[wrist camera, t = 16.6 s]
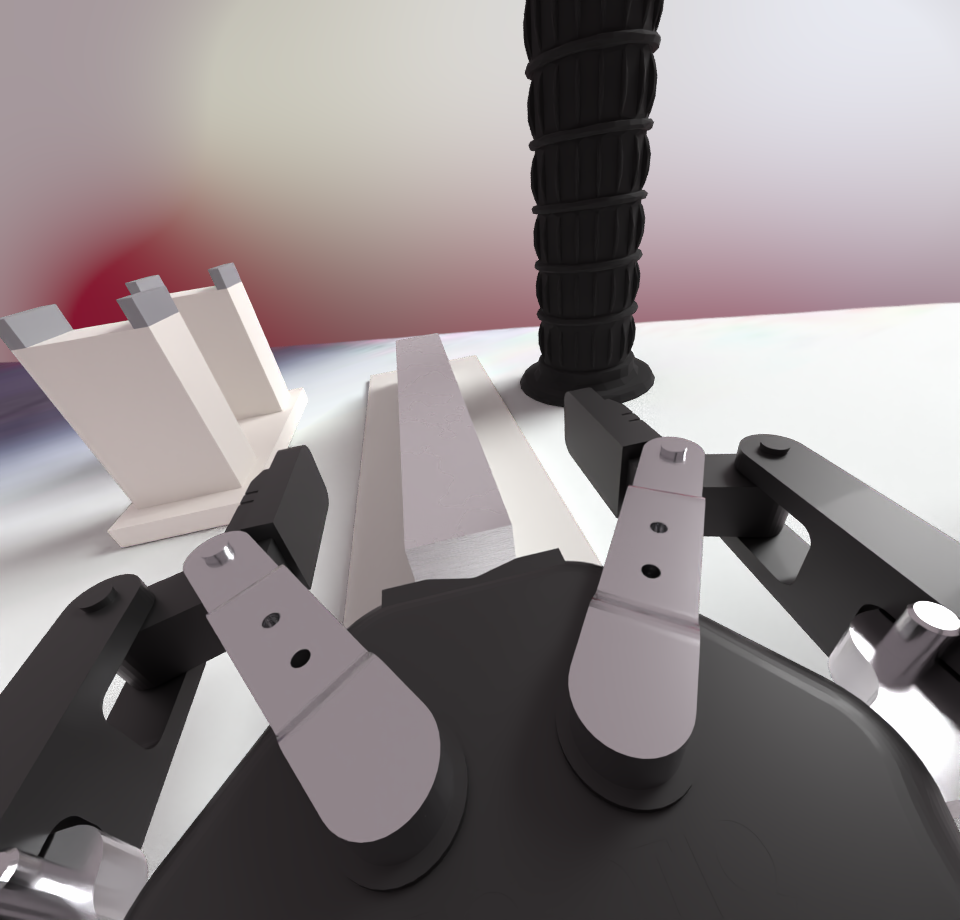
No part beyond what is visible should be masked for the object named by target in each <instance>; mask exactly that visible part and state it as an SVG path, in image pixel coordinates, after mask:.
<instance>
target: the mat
mask: <svg viewBox="0 0 960 920" xmlns="http://www.w3.org/2000/svg"><path fill="white" fill-rule="evenodd" d="M449 363H450V365H451V368H452V371H453V373H454V376H455V378H456V381H457V384H458V386H459V389H460V391H461V394H462V397H463V399H464V402H465V404H466V407H467V409H468V412H469V415H470V417H471V420H472V422H473V425H474V428H475V430H476V433H477V435H478V438H479V441H480V443H481V446H482V448H483V451H484V453H485V456H486V459H487V461H488V464H489V466H490V469H491V472H492V474H493V477H494V479H495V482H496V485H497V487H498V490H499V492H500V495H501V497H502V500H503V503H504V505H505V508H506V510H507V513H508V516H509V518H510V521H511V523H512V529H513V538H514V546H515V555H516V558H518V557H522V556H527V555H531V554H535V553H539V552H543V551H548V550H552V549H556V548H559V549H560V551H561V554H562V556H563V558H564V560H565V561H582V562H588V563H593V564H597V565H600V566H602V564H601V562H600V561H599V559H598V557H597V556H596V554H595V552H594V551H593V549H592V547H591V546H590V544H589V542H588V541H587V539H586V538H585V536H584V534H583V533H582V531H581V529H580V528H579V526H578V524H577V523H576V521H575V519H574V518H573V516H572V514H571V513H570V511H569V509H568V508H567V506H566V504H565V503H564V501H563V499H562V498H561V496H560V494H559V493H558V491H557V489H556V488H555V486H554V484H553V483H552V481H551V479H550V478H549V476H548V474H547V473H546V471H545V469H544V468H543V466H542V464H541V463H540V461H539V459H538V458H537V456H536V454H535V453H534V451H533V449H532V448H531V446H530V444H529V443H528V441H527V439H526V438H525V436H524V434H523V433H522V431H521V429H520V428H519V426H518V424H517V423H516V421H515V419H514V418H513V416H512V414H511V413H510V411H509V409H508V408H507V406H506V405H505V403H504V401H503V400H502V398H501V396H500V395H499V393H498V391H497V390H496V388H495V386H494V385H493V383H492V381H491V380H490V378H489V376H488V375H487V373H486V371H485V370H484V368H483V366H482V365H481V363H480V361H479V360H478V358H477V356H476V355H474V356H469V357H464V358H458V359H453V360H449ZM413 582H415V579H414V576H413V573H412V570H411V567H410V564H409V561H408V558H407V555H406V552H405V544H404V521H403V497H402V473H401V450H400V426H399V402H398V379H397V371H392V372H386V373H381V374H376V375H371V376H370V384H369V393H368V402H367V411H366V420H365V429H364V439H363V448H362V457H361V466H360V475H359V484H358V493H357V502H356V512H355V521H354V530H353V539H352V548H351V557H350V566H349V575H348V584H347V594H346V603H345V612H344V621H343V626H344V627H345V629H347V628H348V627H349V626H351V625H352V624H353V623H354V622H355V621H356V620H358V619H359V618H360V617H362V616H363V615H365V614H366V613H368V612H369V611H371V610H373V609H375V608H376V607H378V606H380V605H381V604H382V590H384V589H388V588H392V587H397V586H401V585H405V584H409V583H413Z"/></svg>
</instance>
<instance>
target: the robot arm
mask: <svg viewBox="0 0 960 920" xmlns="http://www.w3.org/2000/svg"><path fill="white" fill-rule="evenodd" d="M564 418H565V442H566V446H567V449H568V451H569V453H570V455H571V456H572V458H573V459H574V460H575V462H576V463H577V465H578V466H579V467H580V469H581V470H582V471H583V473H584V474H585V476H586V477H587V478H588V480H589V481H590V482H591V484H592V485H593V486H594V488H595V489H596V491H597V492H598V493H599V495H600V496H601V497H602V499H603V500H604V502H605V503H606V504H607V506H608V507H609V508H610V510H611V511H612V512H613V514H614V515H615V517H616V518H618V521H617V525H616V528H615V531H614V535H613V538H612V541H611V545H610V548H609V551H608V555H607V558H606V562H605V565H604V567H603V566H600V565H597V564H593V563H588V562H582V561H565V560H564V558H563V556H562V554H561V551H560V549H559V548H556V549H552V550H548V551H543V552H539V553H535V554H531V555H527V556H522V557H518V558H515V559H513V560H511V561H509V562H507V563H505V564H503V565H501V566H498V567H496V568H494V569H492V570H490V571H488V572H486V573H484V574H482V575H479V576H477V577H474V578H458V579H426V580H422V581H418V582H413V583H409V584H405V585H401V586H397V587H392V588H388V589H384V590H382V604H381V605H380V606H378V607H376V608H375V609H373V610H371V611H369V612H368V613H366V614H365V615H363V616H362V617H360V618H359V619H358V620H356V621H355V622H354V623H353V624H352V625H351V626H349V627H348V628H347V629H345V627H344V626H343V625H342V624H341V623H340V622H339V621H338V620H337V619H336V618H335V617H334V616H333V615H332V614H331V613H330V612H329V611H328V610H327V609H326V608H325V607H324V606H323V605H322V604H321V603H320V602H319V600H318V599H317V598H316V597H315V596H314V595H313V594H312V593H311V592H310V591H309V590H310V589H311V585H312V581H313V576H314V571H315V567H316V562H317V557H318V553H319V548H320V543H321V539H322V534H323V529H324V525H325V520H326V515H327V511H328V506H329V500H328V493H327V489H326V487H325V484H324V482H323V480H322V477H321V475H320V473H319V470H318V468H317V466H316V463H315V461H314V459H313V457H312V454H311V452H310V450H309V449H308V447H307V446H306V445H302V446H297V447H292V448H287V449H282V450H278V451H277V453H276V455H275V457H274V459H273V461H272V463H271V466H270V468H269V469H265V470H263V471H262V472H261V473H260V474H259V475H258V476H256V477H255V478H254V479H253V480H252V481H251V483H250V484H249V486H248V488H247V490H246V492H245V495H244V496H243V498H242V500H241V502H240V505H239V506H238V508H237V510H236V511H235V513H234V515H233V517H232V519H231V521H230V523H229V525H228V527H227V529H226V531H225V533H223V534H220V535H217V536H215V537H213V538H211V539H209V540H207V541H206V542H204V543H202V544H201V545H200V546H198V547H197V548H196V549H195V550H194V551H193V552H192V553H191V554H190V555H189V556H188V557H187V559H186V560H185V562H184V565H183V572H181V573H178V574H176V575H174V576H171V577H169V578H166V579H164V580H162V581H159V582H157V583H155V584H152V585H150V586H148V587H147V586H146V585H145V584H144V582H143V581H142V580H141V579H140V578H139V577H138V576H136V575H133V574H124V575H119V576H115V577H112V578H109V579H107V580H104V581H102V582H100V583H98V584H96V585H95V586H93V587H91V588H90V589H88V590H86V591H85V592H83V593H82V594H81V595H79V596H78V597H77V598H76V599H74V600H73V601H72V602H71V603H70V604H69V605H68V606H67V607H66V608H65V610H64V611H63V612H62V613H61V615H60V616H59V617H58V619H57V620H56V621H55V623H54V624H53V625H52V627H51V628H50V629H49V631H48V632H47V633H46V635H45V636H44V637H43V639H42V640H41V641H40V643H39V644H38V645H37V647H36V648H35V649H34V650H33V652H32V653H31V654H30V656H29V657H28V658H27V660H26V661H25V662H24V664H23V665H22V666H21V668H20V669H19V670H18V672H17V673H16V674H15V676H14V677H13V678H12V680H11V681H10V682H9V684H8V685H7V686H6V688H5V689H4V690H3V691H2V693H1V694H0V920H960V832H959V830H958V828H957V826H956V824H955V821H954V819H957V818H960V543H959V542H958V541H956V540H955V539H953V538H951V537H950V536H948V535H947V534H945V533H943V532H942V531H940V530H939V529H937V528H935V527H934V526H932V525H931V524H929V523H927V522H926V521H924V520H923V519H921V518H919V517H918V516H916V515H915V514H913V513H911V512H910V511H908V510H907V509H905V508H903V507H902V506H900V505H899V504H897V503H895V502H894V501H892V500H891V499H889V498H887V497H886V496H884V495H883V494H881V493H879V492H878V491H876V490H875V489H873V488H871V487H870V486H868V485H867V484H865V483H863V482H862V481H860V480H859V479H857V478H855V477H854V476H852V475H851V474H849V473H847V472H846V471H844V470H843V469H841V468H839V467H838V466H836V465H835V464H833V463H831V462H830V461H828V460H827V459H825V458H823V457H822V456H820V455H819V454H817V453H815V452H814V451H812V450H811V449H809V448H807V447H806V446H804V445H803V444H801V443H799V442H797V441H795V440H792V439H789V438H786V437H782V436H777V435H770V434H758V435H751V436H748V437H745V438H744V439H742V440H741V441H740V444H739V447H738V451H737V454H705V452H704V450H703V449H702V448H701V447H700V446H699V445H698V444H696V443H694V442H692V441H689V440H686V439H683V438H677V437H662V436H660V435H659V434H658V433H657V432H656V431H655V430H653V429H652V428H651V427H650V426H649V425H647V424H646V423H645V422H644V421H643V420H640V418H639V417H638V416H637V415H635V414H633V413H632V411H631V410H629V409H628V408H627V407H626V406H625V405H623V404H621V403H619V402H616V401H613V400H611V399H605V400H604V399H603V398H602V397H601V396H600V395H599V394H598V393H597V392H595V391H594V390H593V389H592V388H590V387H588V388H583V389H579V390H574V391H569V392H566V394H565V397H564ZM788 513H790V514H791V515H792V516H793V517H795V518H796V519H797V520H798V521H799V522H801V523H802V524H803V525H804V526H805V528H806V529H807V531H808V533H809V535H810V539H811V546H810V545H809V544H807V543H806V542H805V541H804V540H803V539H802V538H801V537H799V536H798V535H797V534H796V533H795V532H794V531H793V530H791V529H790V528H789V527H788V526H787V525H786V524H785V521H786V518H787V516H788ZM703 536H716V537H720V538H721V539H722V540H723V541H724V542H725V543H726V545H727V546H728V547H729V548H730V549H731V550H732V551H733V552H734V553H735V554H736V556H737V557H738V558H739V559H740V560H741V561H742V562H743V563H744V564H745V566H746V567H747V568H748V569H749V570H750V571H751V572H752V573H753V574H754V576H755V577H756V578H757V579H758V580H759V581H760V582H761V583H762V584H763V585H764V587H765V588H766V589H767V590H768V591H769V592H770V593H771V594H772V595H773V597H774V598H775V599H776V600H777V601H778V602H779V603H780V604H781V605H782V607H783V608H784V609H785V610H786V611H787V612H788V613H789V614H790V615H791V616H792V618H793V619H794V620H795V621H796V622H797V623H798V624H799V625H800V626H801V628H802V629H803V630H804V631H805V632H806V633H807V634H808V635H809V636H810V638H811V639H812V640H813V641H814V642H815V643H816V644H817V645H818V646H819V647H820V649H821V650H822V651H823V652H824V653H825V654H826V655H827V656H828V657H829V660H828V668H829V672H830V675H831V677H832V679H833V681H834V682H835V683H834V682H832V681H830V680H829V679H827V678H825V677H823V676H821V675H819V674H817V673H815V672H813V671H811V670H809V669H807V668H805V667H803V666H801V665H799V664H797V663H795V662H793V661H791V660H789V659H787V658H785V657H784V656H782V655H780V654H778V653H776V652H774V651H772V650H770V649H768V648H766V647H764V646H762V645H760V644H758V643H756V642H754V641H752V640H750V639H748V638H746V637H744V636H742V635H740V634H738V633H736V632H734V631H732V630H730V629H728V628H726V627H725V626H723V625H721V624H719V623H717V622H715V621H713V620H711V619H709V618H707V617H705V616H703V615H701V614H699V600H700V584H701V567H702V550H703ZM226 651H227V653H228V655H229V656H230V658H231V660H232V661H233V663H234V665H235V667H236V668H237V670H238V672H239V673H240V675H241V677H242V678H243V680H244V682H245V683H246V685H247V687H248V688H249V690H250V692H251V694H252V695H253V697H254V699H255V700H256V702H257V704H258V705H259V707H260V709H261V710H262V712H263V714H264V716H265V717H266V719H267V721H268V722H269V724H270V725H269V726H268V727H267V729H266V730H265V731H264V733H263V734H262V735H261V736H260V738H259V739H258V740H257V741H256V743H255V744H254V745H253V747H252V748H251V749H250V750H249V752H248V753H247V754H246V756H245V757H244V758H243V759H242V761H241V762H240V763H239V764H238V766H237V767H236V768H235V770H234V771H233V772H232V773H231V775H230V776H229V777H228V779H227V780H226V781H225V782H224V784H223V785H222V786H221V787H220V789H219V790H218V791H217V793H216V794H215V795H214V796H213V798H212V799H211V800H210V802H209V803H208V804H207V805H206V807H205V808H204V809H203V810H202V812H201V813H200V814H199V816H198V817H197V818H196V819H195V821H194V822H193V823H192V824H191V826H190V827H189V828H188V830H187V831H186V832H185V833H184V835H183V836H182V837H181V839H180V840H179V841H178V842H177V844H176V845H175V846H174V847H173V849H172V850H171V851H170V853H169V854H168V855H167V856H166V858H165V859H164V860H163V862H162V863H161V864H160V865H159V867H158V868H157V869H156V871H155V872H154V873H153V875H152V876H151V877H150V879H149V880H148V882H147V877H148V863H147V859H146V856H145V854H144V853H143V852H142V850H141V847H142V845H143V842H144V839H145V836H146V833H147V830H148V827H149V825H150V822H151V819H152V816H153V813H154V810H155V807H156V805H157V802H158V799H159V796H160V793H161V790H162V787H163V785H164V782H165V779H166V776H167V773H168V770H169V767H170V765H171V762H172V759H173V756H174V753H175V750H176V747H177V745H178V742H179V739H180V736H181V733H182V730H183V727H184V725H185V722H186V719H187V716H188V713H189V710H190V707H191V705H192V702H193V699H194V696H195V693H196V690H197V687H198V685H199V682H200V679H201V676H202V673H203V670H204V667H205V665H206V661H208V660H210V659H212V658H214V657H216V656H218V655H220V654H222V653H224V652H226ZM116 673H117V674H118V675H119V676H120V677H121V678H123V679H124V680H125V681H126V683H125V685H124V687H123V688H122V690H121V692H120V694H119V696H118V698H117V700H116V702H115V704H114V706H113V708H112V710H111V712H110V714H109V716H108V718H107V720H105V718H104V716H103V710H102V705H103V699H104V696H105V694H106V692H107V690H108V688H109V686H110V684H111V682H112V680H113V679H114V677H115V675H116Z"/></svg>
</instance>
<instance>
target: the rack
mask: <svg viewBox="0 0 960 920" xmlns="http://www.w3.org/2000/svg"><path fill="white" fill-rule="evenodd" d="M208 271H209V273H210V275H211V278H212V280H213V282H214V284H215V286H212V287H206V288H200V289H194V290H188V291H182V292H176V293H170V294H169V292H168V290H167V288H166V286H164V284H163V282H162V280H161V278H160V276H159V275H157V276H150V277H146V278H143V279H139V280H135V281H131V282H128V283H125V284H126V286H127V288H128V290H129V291H130V293H131V295H130V296H127V297H124V298H121V299H118V300H117V302H118V303H119V305H120V307H121V309H122V310H123V312H124V314H125V315H126V317H127V318H128V321H123V322H117V323H111V324H106V325H100V326H94V327H88V328H82V329H76V330H73V329H72V327H71V326H70V324H69V323H68V321H67V320H66V318H65V317H64V316H63V314H62V313H61V311H60V310H59V309H58V307H57V305H56V304H53V305H48V306H42V307H38V308H34V309H31V310H27V311H24V312H20V313H16V314H13V315H10V316H6V317H2V318H0V338H1V339H2V340H3V341H4V343H5V344H6V345H7V346H8V348H9V349H10V350H11V351H12V353H13V354H14V355H15V356H16V358H17V359H18V360H19V361H20V363H21V364H22V365H23V366H24V368H25V369H26V370H27V371H28V373H29V374H30V375H31V376H32V378H33V379H34V380H35V381H36V383H37V384H38V385H39V386H40V388H41V389H42V390H43V391H44V393H45V394H46V395H47V396H48V398H49V399H50V400H51V401H52V403H53V404H54V405H55V406H56V408H57V409H58V410H59V411H60V413H61V414H62V415H63V416H64V418H65V419H66V420H67V421H68V423H69V424H70V425H71V426H72V428H73V429H74V430H75V431H76V433H77V434H78V435H79V436H80V438H81V439H82V440H83V441H84V443H85V444H86V445H87V446H88V448H89V449H90V450H91V451H92V453H93V454H94V455H95V457H96V458H97V459H98V460H99V462H100V463H101V464H102V465H103V467H104V468H105V469H106V470H107V472H108V473H109V474H110V475H111V477H112V478H113V479H114V480H115V482H116V483H117V484H118V485H119V487H120V488H121V489H122V490H123V492H124V493H125V494H126V495H127V497H128V498H129V499H130V500H131V502H132V503H131V504H130V506H129V507H128V508H127V509H126V510H125V511H124V512H123V514H122V515H121V516H120V517H119V518H118V519H117V520H116V522H115V523H114V524H113V525H112V526H111V527H110V528H109V529H108V531H107V532H108V533H109V534H110V535H111V537H112V538H113V539H114V540H115V541H116V542H117V543H118V544H119V546H120V547H121V548H124V547H128V546H133V545H137V544H142V543H147V542H151V541H156V540H160V539H165V538H169V537H174V536H178V535H183V534H187V533H192V532H196V531H201V530H205V529H210V528H214V527H219V526H223V525H228V524H229V523H230V521H231V519H232V517H233V515H234V513H235V511H236V510H237V508H238V506H239V505H240V502H241V500H242V498H243V496H244V495H245V492H246V490H247V488H248V486H249V484H250V483H251V481H252V480H253V479H254V478H255V477H256V476H258V475H259V474H260V473H261V472H262V471H263V470H265V469H269V468H270V466H271V463H272V461H273V459H274V457H275V455H276V453H277V451H278V450H282V449H287V448H288V446H289V444H290V442H291V439H292V437H293V435H294V432H295V430H296V427H297V425H298V423H299V420H300V418H301V416H302V413H303V411H304V409H305V406H306V404H307V402H308V398H307V396H306V394H305V391H304V389H303V387H302V388H297V389H292V390H288V389H287V386H286V384H285V382H284V379H283V377H282V375H281V373H280V370H279V368H278V366H277V363H276V361H275V359H274V356H273V354H272V352H271V349H270V347H269V345H268V342H267V340H266V338H265V335H264V333H263V331H262V328H261V326H260V324H259V321H258V319H257V317H256V314H255V312H254V310H253V307H252V305H251V303H250V301H249V298H248V296H247V293H246V291H245V289H244V287H243V284H242V282H241V279H240V277H239V275H238V273H237V270H236V268H235V265H234V263H229V264H224V265H221V266H218V267H215V268H211V269H209V270H208Z"/></svg>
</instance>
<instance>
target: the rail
mask: <svg viewBox="0 0 960 920" xmlns="http://www.w3.org/2000/svg"><path fill="white" fill-rule="evenodd" d="M396 355H397V379H398V402H399V426H400V450H401V473H402V497H403V521H404V544H405V552H406V555H407V558H408V561H409V564H410V567H411V570H412V573H413V576H414V579H415V582H418V581H422V580H426V579H458V578H474V577H477V576H479V575H482V574H484V573H486V572H488V571H490V570H492V569H494V568H496V567H498V566H501V565H503V564H505V563H507V562H509V561H511V560H513V559H515V558H516V555H515V546H514V538H513V529H512V523H511V521H510V518H509V516H508V513H507V510H506V508H505V505H504V503H503V500H502V497H501V495H500V492H499V490H498V487H497V485H496V482H495V479H494V477H493V474H492V472H491V469H490V466H489V464H488V461H487V459H486V456H485V453H484V451H483V448H482V446H481V443H480V441H479V438H478V435H477V433H476V430H475V428H474V425H473V422H472V420H471V417H470V415H469V412H468V409H467V407H466V404H465V402H464V399H463V397H462V394H461V391H460V389H459V386H458V384H457V381H456V378H455V376H454V373H453V371H452V368H451V365H450V363H449V360H448V358H447V355H446V353H445V350H444V347H443V345H442V342H441V340H440V337H439V334H438V333H435V334H430V335H424V336H419V337H414V338H408V339H403V340H398V341H396Z"/></svg>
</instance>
